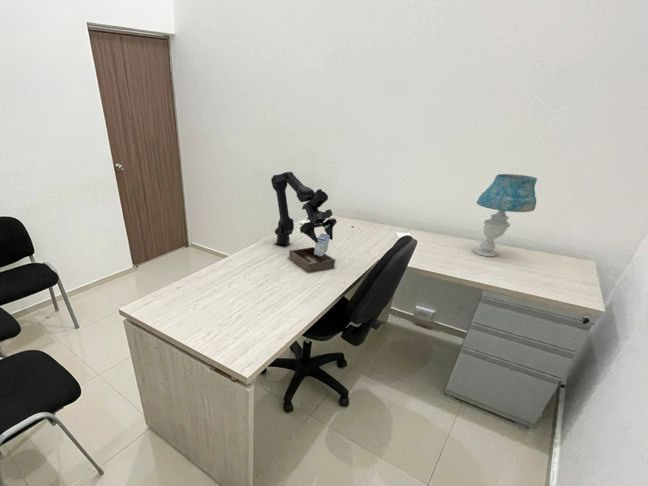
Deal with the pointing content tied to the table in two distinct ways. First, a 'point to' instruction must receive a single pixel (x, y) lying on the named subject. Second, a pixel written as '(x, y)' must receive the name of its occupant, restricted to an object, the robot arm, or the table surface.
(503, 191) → the table lamp
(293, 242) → the table surface
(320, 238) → the medicine box
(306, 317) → the table surface
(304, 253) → the crate
